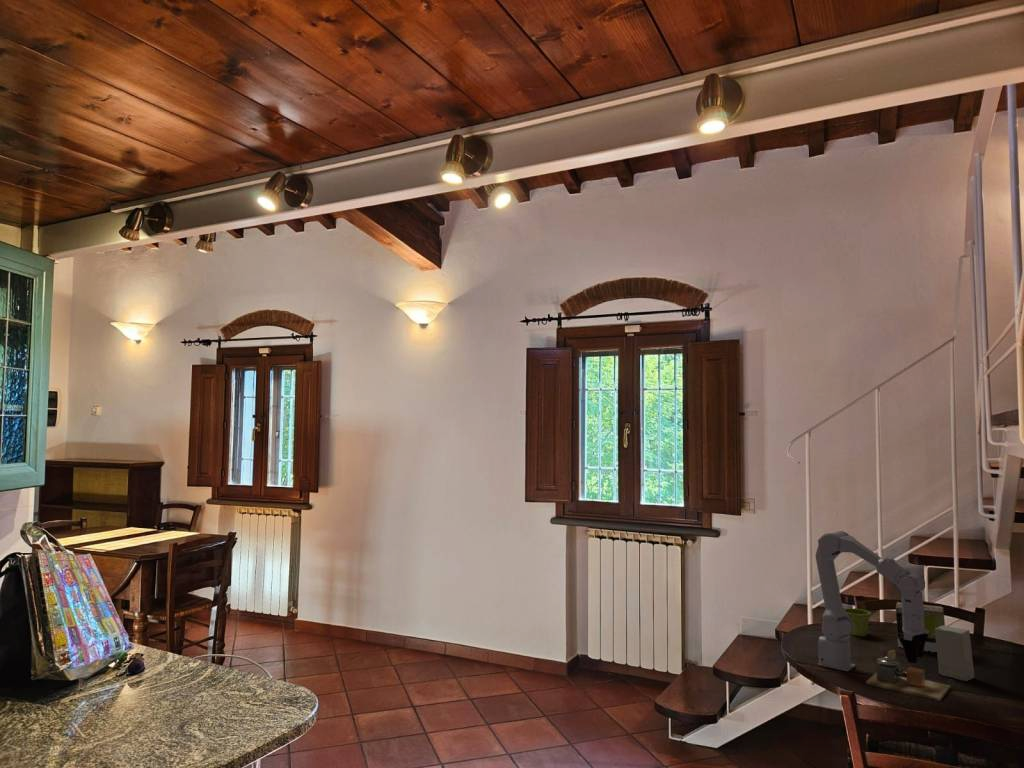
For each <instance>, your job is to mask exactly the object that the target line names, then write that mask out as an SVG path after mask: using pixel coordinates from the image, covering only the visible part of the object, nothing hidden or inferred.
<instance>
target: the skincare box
mask: <svg viewBox="0 0 1024 768" xmlns="http://www.w3.org/2000/svg"><path fill="white" fill-rule="evenodd" d="M935 636H936V646H937V653H936V654H937V656H936V657H937V666H938V674H941V676H944V677H947V678H948V677H949V678H953V679H956V680H960V681H964V682H968V681H969V680H970V681H971V680H973V679H974V678H975V670H974V661H973V652H972V644H971V635H970V630H969V629H964V628H960V627H959V628H958V627H952V626H948V625H945V626H940V627H938V628H935Z"/></svg>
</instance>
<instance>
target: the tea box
mask: <svg viewBox="0 0 1024 768" xmlns="http://www.w3.org/2000/svg"><path fill="white" fill-rule="evenodd" d="M923 611H924V629H925V630H929V633H928V634H929V636H928V637H927V640H926V642H925V646H924V652H928V651H930V653H935V652H937V646H936V636H935V628H938V627H940V626H946V624H945V622H946V621H945V613H944V612H945V611H944V606H941V605H940V606H939V605H930V604H929V605H928V604H923ZM895 619H896V632H897V633H896V634H897V635H896V636H897V647H898V648H899V647H901V648H900V649H904V648H903V646H902V644H901V642H900V641H899V637H900V636H902V637H904V632H903V630H902V627H903V621H902V602H899V601H897V602H896V606H895Z"/></svg>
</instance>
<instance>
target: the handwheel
mask: <svg viewBox="0 0 1024 768" xmlns="http://www.w3.org/2000/svg"><path fill="white" fill-rule="evenodd" d="M896 651H897V650H896V649H891V650H889V651H887V653H886V654H887V655H885V656H884V657H881V656H880V657H877V659H876V662H877V664H878V663H879V664H882V665H885V666H899V663H900V661H899V660H897V659H896V658H897V652H896Z"/></svg>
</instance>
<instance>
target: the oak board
mask: <svg viewBox="0 0 1024 768" xmlns="http://www.w3.org/2000/svg"><path fill="white" fill-rule="evenodd" d="M866 685H869V686H874V687H876V688H877V687H879V688H882V689H886V690H890V691H896V692H899V693H904V694H907V695H913V696H916V697H921V698H925V699H929V700H933V699H935V700H934V701H937V700H938V702H940V701H941V700H942V699H943V698H944V697H945V696H946V694H947V693H948V692H949V691H948V690H950V689H951V684H946V683H940V682H937V681H933V680H928V679H925V684H924V686H923V687H920V686H916V685H911V684H907V678H905V677H901V679H900V680H898V681H897V682H896V683H895V684H892V683H888V682H884V681H879V680H877V673H876V672H875V673H874V674H873V675H872V676H871V677H869V679H867V680H866Z"/></svg>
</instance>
